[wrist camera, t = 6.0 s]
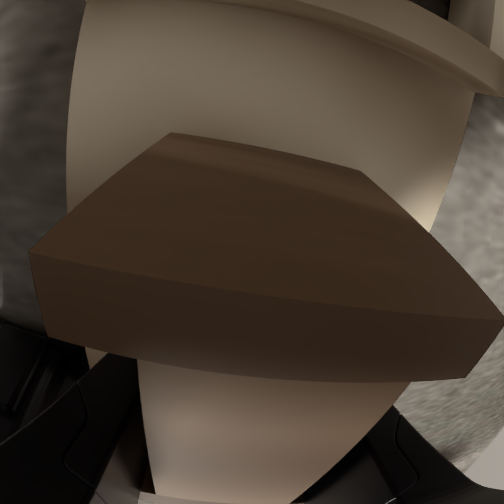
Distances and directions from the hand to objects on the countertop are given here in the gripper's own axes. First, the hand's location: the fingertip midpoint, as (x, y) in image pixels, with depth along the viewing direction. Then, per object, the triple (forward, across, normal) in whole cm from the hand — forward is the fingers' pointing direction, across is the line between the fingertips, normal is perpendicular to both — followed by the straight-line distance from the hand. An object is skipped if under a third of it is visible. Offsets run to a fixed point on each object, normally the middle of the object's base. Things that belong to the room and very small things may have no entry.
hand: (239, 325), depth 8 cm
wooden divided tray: (+3, 0, -6) cm, 6 cm away
